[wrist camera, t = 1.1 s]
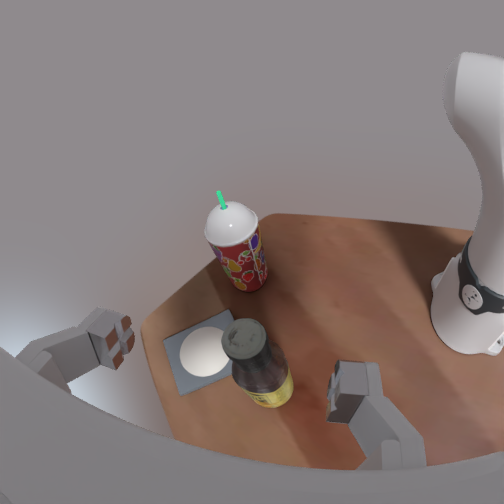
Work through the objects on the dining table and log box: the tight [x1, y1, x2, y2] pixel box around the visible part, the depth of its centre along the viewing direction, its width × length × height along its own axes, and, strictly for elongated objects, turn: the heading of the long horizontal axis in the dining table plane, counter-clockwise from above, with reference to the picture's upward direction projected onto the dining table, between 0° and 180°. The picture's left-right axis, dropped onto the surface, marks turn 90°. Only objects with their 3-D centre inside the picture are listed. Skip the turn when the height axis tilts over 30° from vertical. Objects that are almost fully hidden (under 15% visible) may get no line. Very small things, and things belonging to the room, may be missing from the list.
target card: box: [163, 309, 234, 396], centre depth 45 cm, size 13×11×1 cm
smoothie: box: [204, 191, 268, 292], centre depth 46 cm, size 8×8×20 cm
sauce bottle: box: [221, 318, 293, 408], centre depth 31 cm, size 7×6×20 cm
